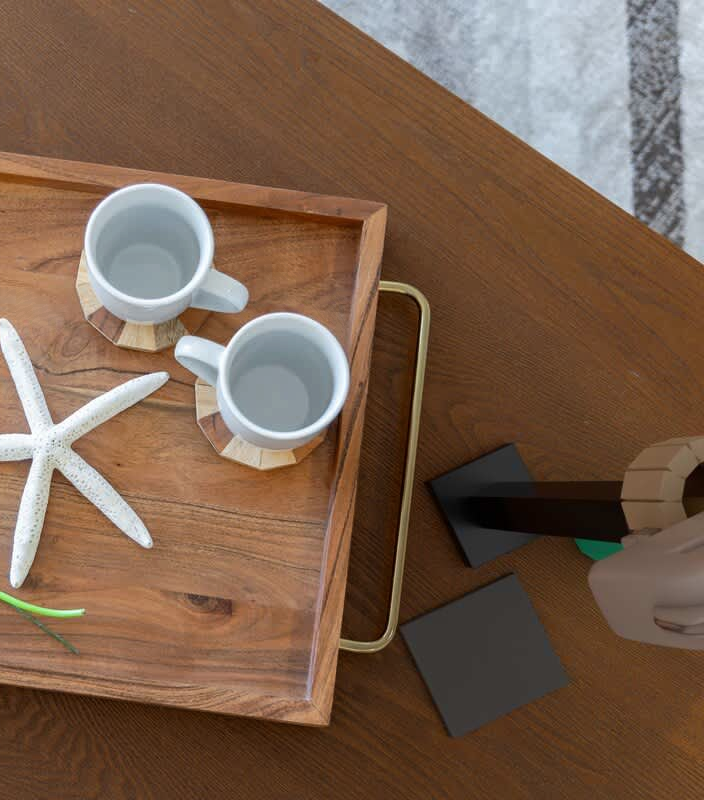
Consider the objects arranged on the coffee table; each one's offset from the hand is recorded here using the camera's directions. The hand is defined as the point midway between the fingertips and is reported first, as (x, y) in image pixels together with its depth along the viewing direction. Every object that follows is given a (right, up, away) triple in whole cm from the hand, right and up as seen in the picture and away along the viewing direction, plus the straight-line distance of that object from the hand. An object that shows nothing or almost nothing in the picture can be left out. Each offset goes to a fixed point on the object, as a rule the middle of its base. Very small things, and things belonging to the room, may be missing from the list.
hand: (703, 515), depth 49 cm
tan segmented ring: (0, +1, +1) cm, 2 cm away
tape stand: (0, -3, +27) cm, 27 cm away
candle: (+10, -5, +27) cm, 29 cm away
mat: (-1, -15, +26) cm, 30 cm away
